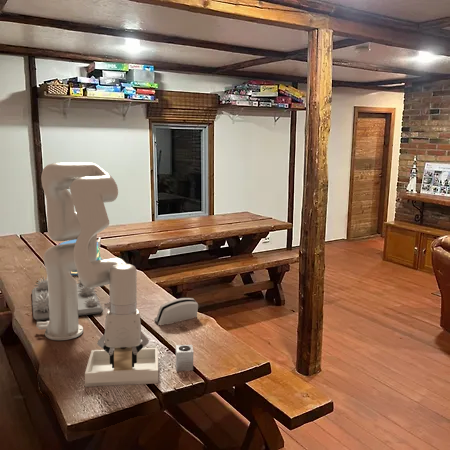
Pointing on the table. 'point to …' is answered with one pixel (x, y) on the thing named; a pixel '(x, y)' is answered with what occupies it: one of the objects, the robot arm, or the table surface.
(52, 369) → the table surface
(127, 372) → the sorting tray
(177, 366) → the grey block
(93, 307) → the decorative tray
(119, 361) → the maple block
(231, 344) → the table surface
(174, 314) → the grey rounded slab
